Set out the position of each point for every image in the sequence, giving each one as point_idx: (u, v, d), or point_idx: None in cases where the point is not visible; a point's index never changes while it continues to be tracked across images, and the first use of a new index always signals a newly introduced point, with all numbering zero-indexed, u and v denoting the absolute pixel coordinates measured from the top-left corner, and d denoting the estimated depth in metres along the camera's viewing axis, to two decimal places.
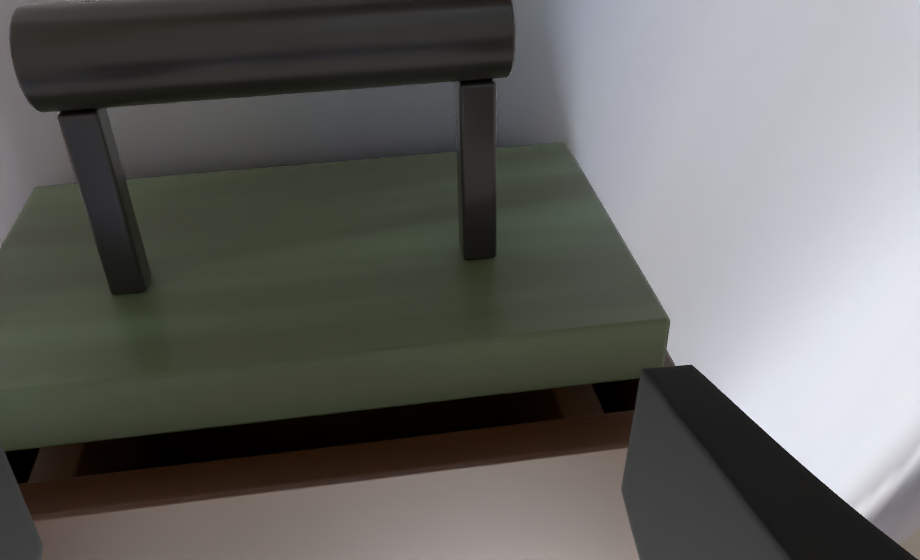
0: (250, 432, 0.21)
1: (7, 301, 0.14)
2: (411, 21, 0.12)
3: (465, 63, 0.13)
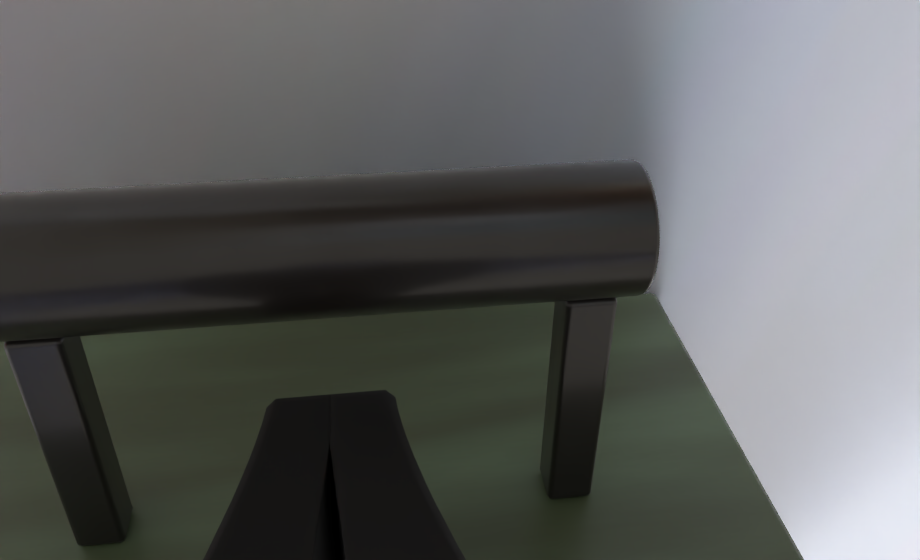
0: None
1: None
2: (514, 236, 0.08)
3: (584, 288, 0.09)
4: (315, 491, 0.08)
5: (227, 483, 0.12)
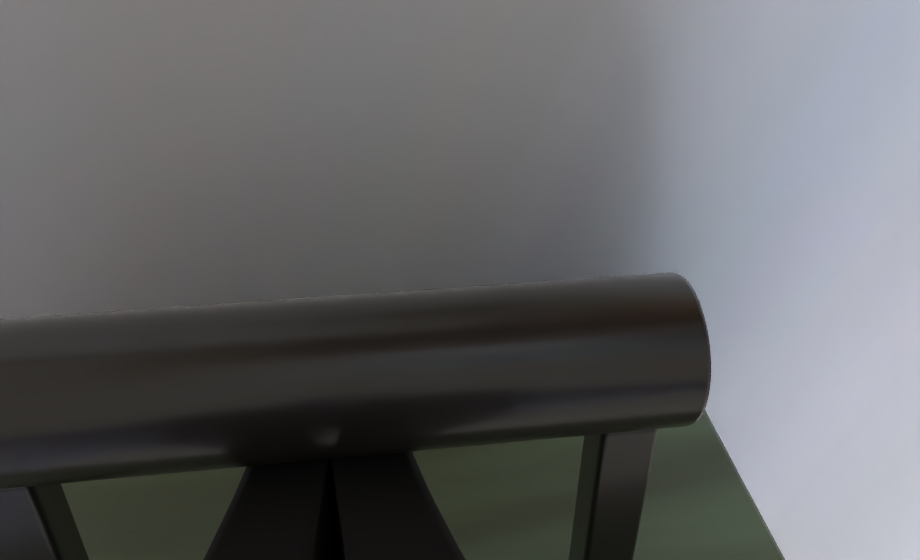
0: None
1: None
2: (547, 372, 0.07)
3: (624, 424, 0.08)
4: (315, 491, 0.08)
5: None
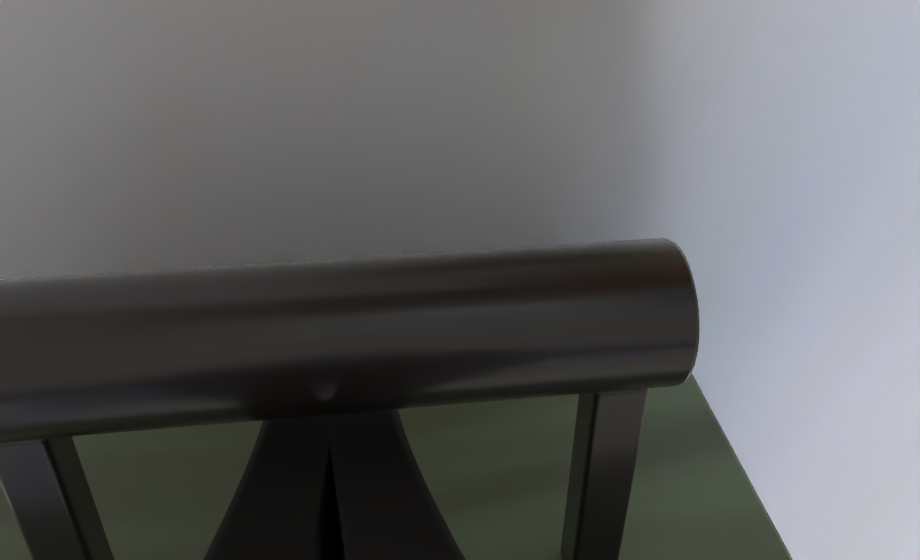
0: None
1: None
2: (541, 330, 0.08)
3: (616, 382, 0.08)
4: (315, 490, 0.08)
5: None
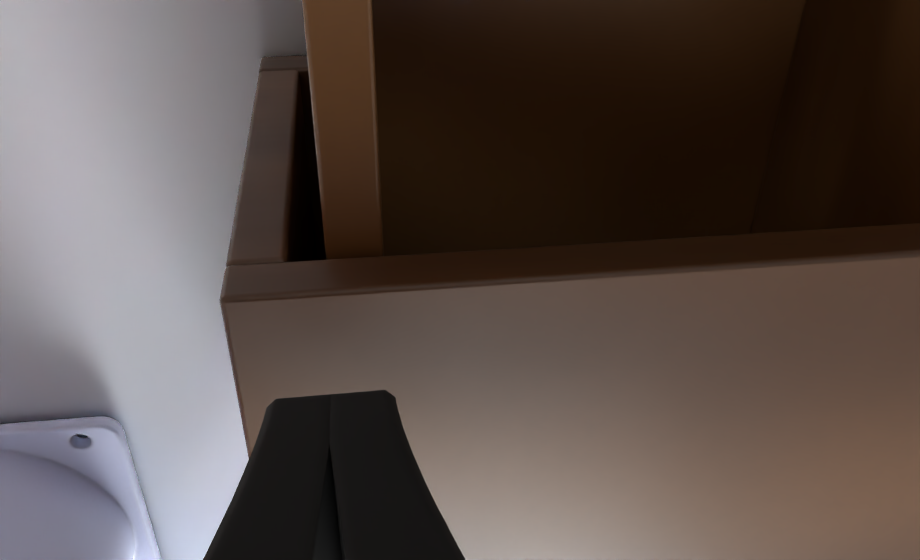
0: None
1: None
2: None
3: None
4: (316, 491, 0.08)
5: None
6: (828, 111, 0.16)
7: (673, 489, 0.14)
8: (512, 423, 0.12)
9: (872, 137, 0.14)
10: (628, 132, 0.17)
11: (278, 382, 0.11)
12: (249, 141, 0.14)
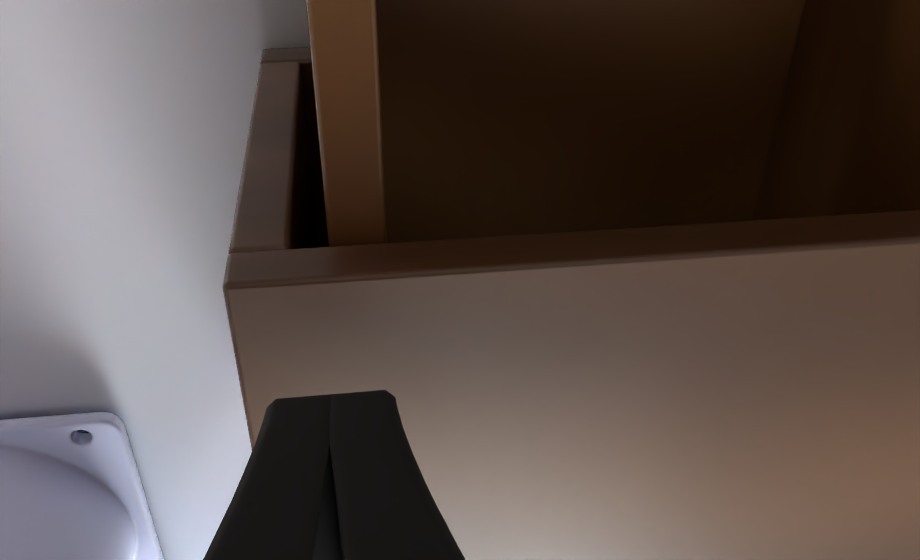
0: None
1: None
2: None
3: None
4: (315, 491, 0.08)
5: None
6: (831, 101, 0.16)
7: (677, 479, 0.14)
8: (516, 412, 0.12)
9: (875, 126, 0.14)
10: (630, 123, 0.17)
11: (281, 371, 0.11)
12: (251, 131, 0.14)
